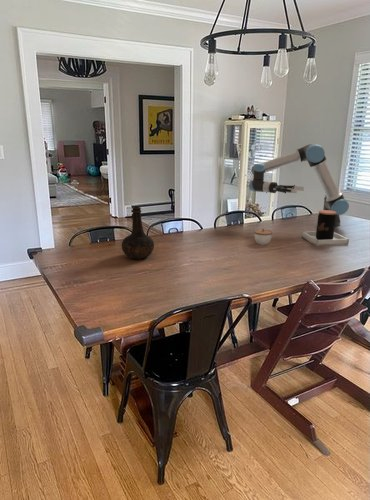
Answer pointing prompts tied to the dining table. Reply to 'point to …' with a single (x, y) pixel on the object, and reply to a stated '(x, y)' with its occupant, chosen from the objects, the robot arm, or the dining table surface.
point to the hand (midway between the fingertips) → (300, 189)
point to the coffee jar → (325, 225)
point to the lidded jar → (263, 236)
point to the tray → (335, 241)
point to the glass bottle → (137, 239)
